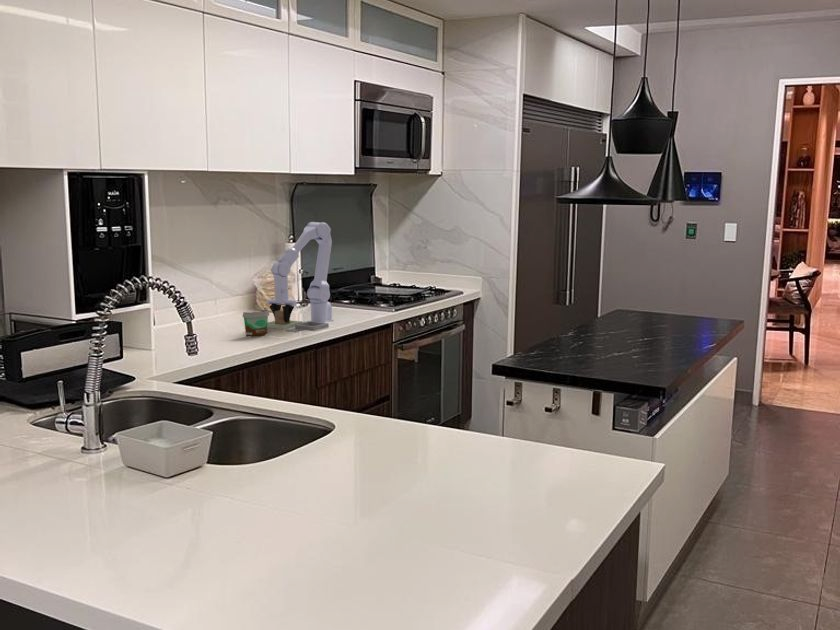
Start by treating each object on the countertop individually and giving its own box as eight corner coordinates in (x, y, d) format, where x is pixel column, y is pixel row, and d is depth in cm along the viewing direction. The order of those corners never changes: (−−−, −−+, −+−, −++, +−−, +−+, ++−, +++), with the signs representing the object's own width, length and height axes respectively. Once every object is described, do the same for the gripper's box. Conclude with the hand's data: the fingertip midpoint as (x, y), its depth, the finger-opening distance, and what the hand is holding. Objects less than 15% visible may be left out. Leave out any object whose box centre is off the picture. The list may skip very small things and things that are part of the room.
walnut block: (281, 324, 361) (281, 309, 360) (289, 325, 358) (289, 310, 357) (274, 326, 357) (274, 311, 356) (283, 327, 354) (282, 311, 353)
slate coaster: (293, 329, 350) (293, 328, 350) (304, 331, 347) (304, 329, 347) (284, 332, 345) (284, 330, 345) (295, 333, 342) (295, 331, 342)
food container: (253, 338, 331) (252, 313, 330) (243, 336, 335) (242, 312, 334) (276, 333, 341) (275, 309, 340) (266, 332, 345) (265, 308, 343)
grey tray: (309, 326, 359) (309, 321, 359) (328, 327, 354) (328, 323, 354) (295, 329, 351) (295, 324, 351) (314, 331, 346) (313, 326, 346)
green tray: (280, 323, 366) (280, 319, 365) (302, 326, 360) (302, 321, 359) (262, 327, 355) (262, 323, 355) (284, 330, 349) (284, 325, 349)
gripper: (262, 290, 355) (263, 321, 357) (288, 292, 348) (289, 324, 350) (272, 288, 361) (274, 319, 363) (299, 290, 354) (300, 321, 356)
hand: (282, 321), depth 357 cm, fingers open, 5 cm apart
